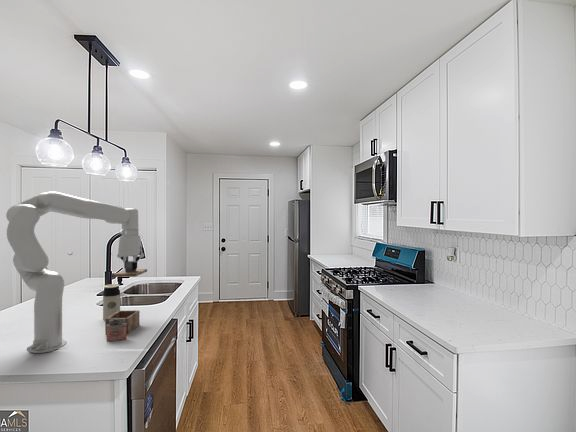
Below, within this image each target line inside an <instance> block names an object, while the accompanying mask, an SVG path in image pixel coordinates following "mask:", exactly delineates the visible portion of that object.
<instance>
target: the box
mask: <svg viewBox="0 0 576 432" xmlns="http://www.w3.org/2000/svg"><path fill="white" fill-rule="evenodd" d="M115 318H117V319H121V318H125V322H122V323H127V326H126V336H127V335H130V334H131V333H132V332H133V331H134V330H136V328H138V327H139V326H140V310H120V311H117V312H116V313H114V314H112V315H111V316H109V317H108V318H106V319H105V320H104V322H105V326H104V327H105V329H104V330H105V334H104V335H106V336H107V328H106V325H108V324H110V323H109V320H113V319H115ZM119 323H120V322H119ZM112 324H113V323H112Z"/></svg>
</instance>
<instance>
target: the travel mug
mask: <svg viewBox="0 0 576 432" xmlns="http://www.w3.org/2000/svg"><path fill="white" fill-rule="evenodd" d="M103 289H104V290H103V292H102V320H103V321H105V319H106V318H108V317H109V316H111V315H112V314H114V313H116V312H117V311H121V290H120V284H119V283H112V284H106V285H103Z"/></svg>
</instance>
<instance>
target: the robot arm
mask: <svg viewBox="0 0 576 432" xmlns="http://www.w3.org/2000/svg"><path fill="white" fill-rule="evenodd" d="M50 212H52V213H57V214H62V215H67V216H72V217H76V218H82V219H86V220H87V219H89V220H90V219H91V220H92V219H93V220H103V221H105V222H106V223H108V224H117V225H121V230H118V232H119V233H118V234H120V236H119V241H118V249H117V250H118V251H117V255H116V257H117V258H119V259H121V261H123V264H124V269H125V262H128V261H129V257H132V261H133V263H132V264H133V270H136V269H138V262H139V260H140V259H143V258H144V257H145V254H144V252H143V244H142V240H141V236H140V235H139V234H140V233H139V210H138V209H137V208H133V207H132V208H131V207H129V208H124V207H121V206H119V205H118V206H117V205H113V204H109V203H105V202H100V201H95V200H91V199H87V198H82V197H78V196H73V195H71V194H66V193H62V192H59V191H47V192H42V193H40V194H37V195H35V196H33V197H31V198H28V199H26V200H24V201H21V202H18V203H17V204H14V205H12V206H10V207H9V208H8V209H7V211H6V212H5V213H6V215H5V217H6V220H7V221H8V224H7V228H6V238H7V242H8V244H9V245H10V247H11V250H12V251H13V252H14V255H13V256H12V257H13V258H12V262H13V263H12V264H13V266H14V267H15V270H16V271H17V272H18V274H19V276H20V277H21V279H22V280H23V282H24V283H25V285H26V286H27V287H28V289H30V290H31V291H34V292H35V298H34V304H33V305H34V306H33V314H34V315H33V316H34V317H33V325H34V326H33V327H34V329H33V330H34V331H33V333H34V334H33V340H32V344H31V345H30V346H28V347H26V351H27V352H29V353H32V354H44V353H45V354H46V353H50V352H54V351H55V352H56V351H58V350H59V348H62V347H65V345H67V340H65V339H63V295H64V289H65V280H64V278H63V276H62V275H61V274H60V273H59V272H57V271H53V270H50V269H49V268H48V265H49V256H48V254H47V253H46V252H45V250H44V248H43V247H42V245H41V244H40V242H39V240H38V238H37V236H36V233H35V228H36V225H37V223H38V222H39V220H40V218H41V217H42V216H44V215H46V214H48V213H50Z"/></svg>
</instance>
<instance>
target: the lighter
mask: <svg viewBox="0 0 576 432" xmlns="http://www.w3.org/2000/svg"><path fill="white" fill-rule="evenodd" d="M119 322H120V323H119ZM122 322H125V318H121V319H117V318H115V319H113V320H109V323H110V324H108V325H106V328H107V335H106V341H105V342H108V343H109V342H110V343H111V342H121V341H126V340H127V339H128V338H127V335H126V326H127V323H122ZM112 323H113V324H112Z"/></svg>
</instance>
